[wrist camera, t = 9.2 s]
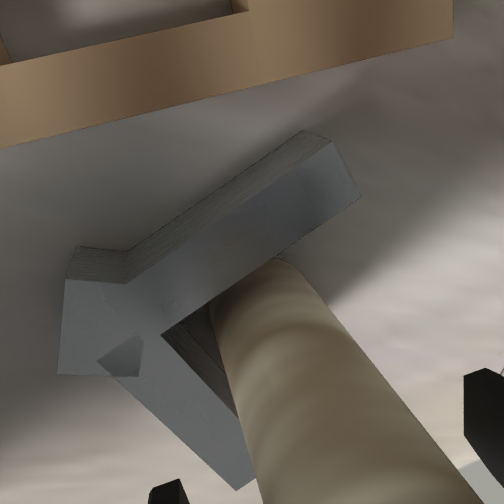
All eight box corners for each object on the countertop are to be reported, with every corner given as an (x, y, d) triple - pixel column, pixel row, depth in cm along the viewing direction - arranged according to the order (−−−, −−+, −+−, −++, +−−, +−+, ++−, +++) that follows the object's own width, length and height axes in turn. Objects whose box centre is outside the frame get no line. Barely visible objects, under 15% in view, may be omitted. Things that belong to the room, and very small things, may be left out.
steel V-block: (58, 443, 17) (46, 498, 15) (91, 83, 13) (81, 87, 11) (255, 441, 20) (270, 489, 17) (340, 138, 15) (375, 150, 13)
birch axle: (223, 362, 18) (312, 667, 9) (197, 276, 16) (273, 544, 7) (316, 331, 18) (491, 589, 9) (300, 245, 16) (496, 457, 7)
